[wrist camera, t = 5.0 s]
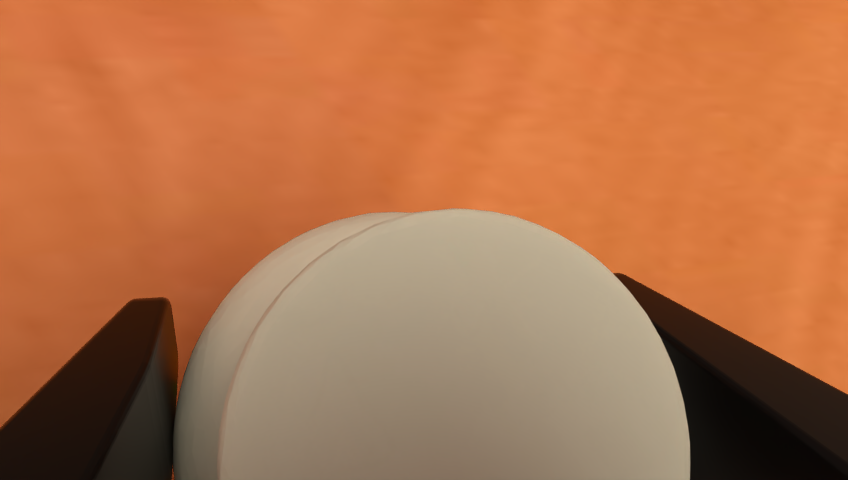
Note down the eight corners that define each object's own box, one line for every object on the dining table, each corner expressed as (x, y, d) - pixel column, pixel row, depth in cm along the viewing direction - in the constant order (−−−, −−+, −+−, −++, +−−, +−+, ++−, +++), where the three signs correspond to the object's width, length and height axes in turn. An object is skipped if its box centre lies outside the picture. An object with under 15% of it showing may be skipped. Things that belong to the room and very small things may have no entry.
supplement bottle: (165, 379, 14) (-55, 372, 4) (371, 240, 15) (524, 24, 6) (312, 592, 13) (402, 1053, 4) (505, 429, 15) (876, 501, 6)
